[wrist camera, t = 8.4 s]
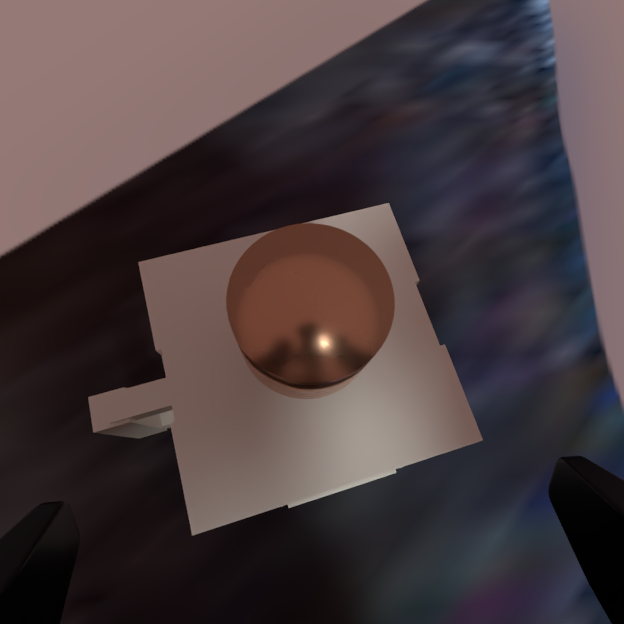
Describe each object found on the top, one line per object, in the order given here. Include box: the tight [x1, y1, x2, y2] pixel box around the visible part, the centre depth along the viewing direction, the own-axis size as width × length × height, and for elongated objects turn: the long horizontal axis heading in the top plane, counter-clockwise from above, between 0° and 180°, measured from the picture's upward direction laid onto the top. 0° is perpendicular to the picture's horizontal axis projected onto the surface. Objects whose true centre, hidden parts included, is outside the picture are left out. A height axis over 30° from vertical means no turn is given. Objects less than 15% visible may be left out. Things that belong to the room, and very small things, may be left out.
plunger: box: [226, 223, 395, 399], centre depth 13 cm, size 5×5×9 cm
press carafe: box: [88, 203, 483, 536], centre depth 15 cm, size 8×10×6 cm
